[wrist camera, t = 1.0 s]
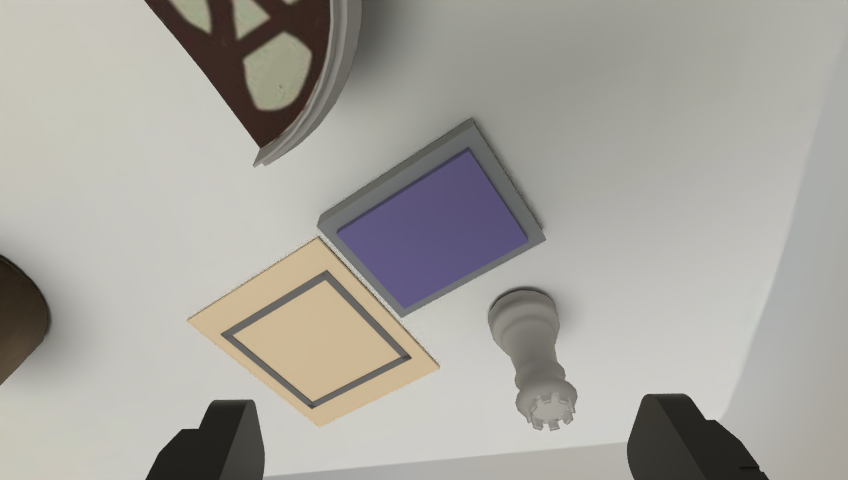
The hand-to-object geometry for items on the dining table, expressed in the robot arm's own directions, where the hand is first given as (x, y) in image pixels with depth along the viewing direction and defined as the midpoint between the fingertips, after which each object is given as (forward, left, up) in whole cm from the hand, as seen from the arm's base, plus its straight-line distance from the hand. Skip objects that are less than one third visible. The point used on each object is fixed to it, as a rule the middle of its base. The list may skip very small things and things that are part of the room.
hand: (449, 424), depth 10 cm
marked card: (+14, +8, -18) cm, 24 cm away
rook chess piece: (+2, +13, -18) cm, 22 cm away
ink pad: (+3, +4, -18) cm, 18 cm away
